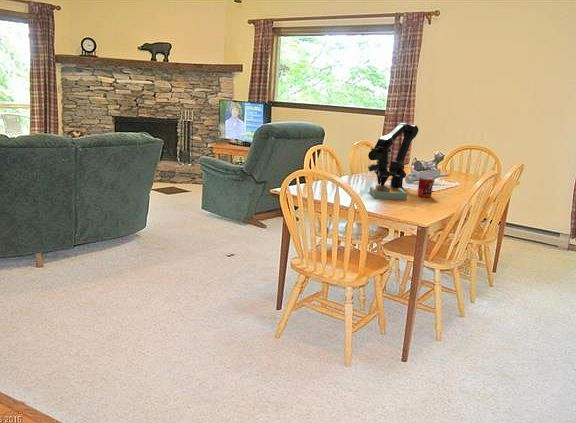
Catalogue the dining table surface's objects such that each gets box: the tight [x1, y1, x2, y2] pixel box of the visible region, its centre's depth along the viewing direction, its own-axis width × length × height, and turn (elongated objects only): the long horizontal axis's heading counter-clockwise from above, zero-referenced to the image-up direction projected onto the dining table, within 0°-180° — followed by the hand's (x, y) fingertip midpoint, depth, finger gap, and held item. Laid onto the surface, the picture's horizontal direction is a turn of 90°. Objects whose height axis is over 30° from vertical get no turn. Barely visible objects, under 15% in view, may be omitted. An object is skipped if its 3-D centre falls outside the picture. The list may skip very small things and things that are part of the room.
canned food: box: [417, 175, 434, 199], centre depth 300 cm, size 8×8×11 cm
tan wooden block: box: [374, 184, 391, 192], centre depth 307 cm, size 7×7×4 cm
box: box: [369, 186, 408, 201], centre depth 296 cm, size 18×14×4 cm
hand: (380, 185), depth 316 cm, fingers open, 9 cm apart
